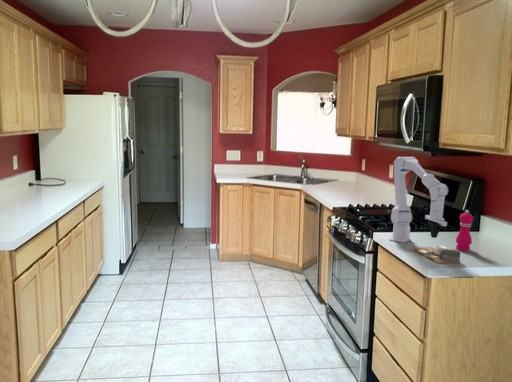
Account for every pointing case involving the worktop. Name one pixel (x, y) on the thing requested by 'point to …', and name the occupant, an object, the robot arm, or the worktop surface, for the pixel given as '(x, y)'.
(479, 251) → the worktop surface
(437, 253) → the gauge carriage
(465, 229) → the pepper mill
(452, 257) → the gauge base
